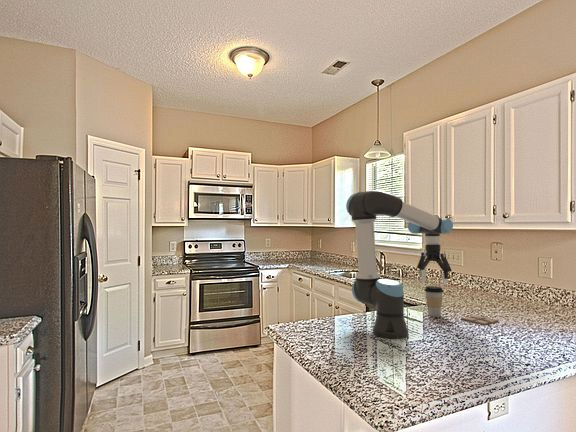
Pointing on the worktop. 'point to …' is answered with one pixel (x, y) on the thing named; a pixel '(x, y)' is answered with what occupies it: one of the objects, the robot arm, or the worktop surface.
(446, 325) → the worktop surface
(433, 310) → the coffee cup
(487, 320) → the plate
